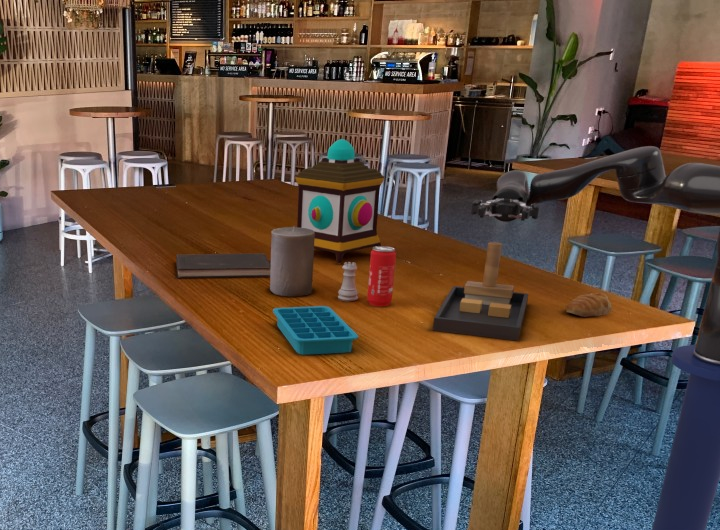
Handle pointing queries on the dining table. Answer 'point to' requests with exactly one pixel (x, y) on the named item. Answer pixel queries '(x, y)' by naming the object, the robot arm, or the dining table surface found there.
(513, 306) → the tray
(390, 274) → the beverage can
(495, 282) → the brush
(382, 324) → the dining table surface
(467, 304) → the light wooden block
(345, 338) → the ice cube tray
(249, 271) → the hardcover book
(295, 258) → the pillar candle
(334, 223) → the decorative lantern
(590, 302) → the pastry
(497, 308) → the block
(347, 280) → the rook chess piece
